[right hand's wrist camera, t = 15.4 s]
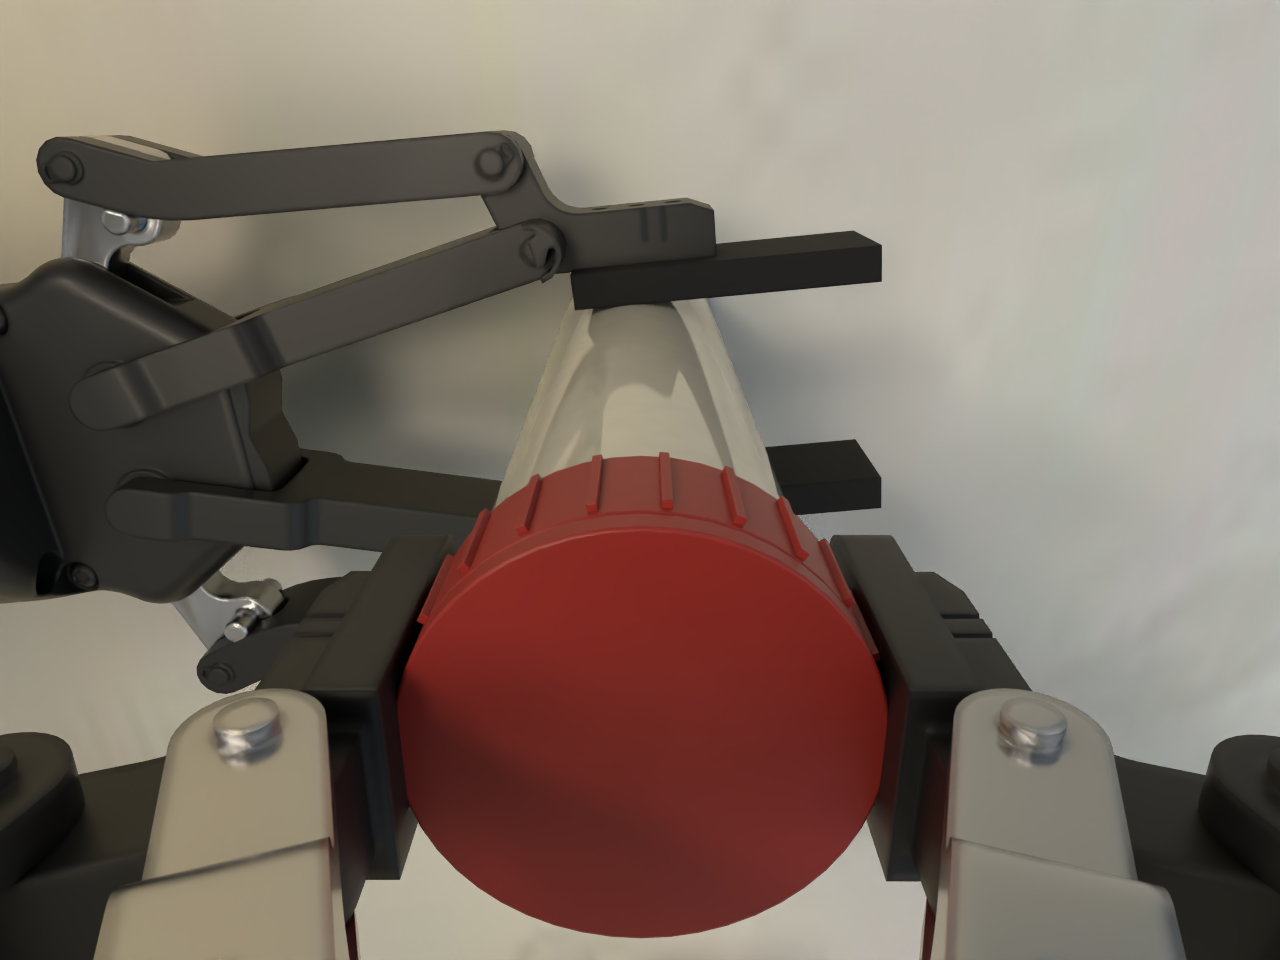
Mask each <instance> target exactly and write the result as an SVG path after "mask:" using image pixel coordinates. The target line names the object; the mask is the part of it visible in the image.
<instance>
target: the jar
mask: <svg viewBox="0 0 1280 960" xmlns="http://www.w3.org/2000/svg"><path fill="white" fill-rule="evenodd" d="M659 452H668V453H669V456H670V458H676V459H682V460H687V461H692V462H697V463H702V464H705V465H708V466H711V467H714V468H717V469H720V470H723V468H724V466H728V467H730V468H733V469H734V473H735V475H736V476H738V477H740V478H742V479H744V480H746V481H748V482H750V483H752V484H754V485H756V486H758V487H759V488H761V489H762V490H764V491H765V492H767V493H768V494H770V495H772V496H773V497H775V498H776V499H779V498H780V497H781V496H783V497H784V495H783V493H782V490H781V487H780V485H779V482H778V480H777V477H776V475H775V472H774V470H773V467H772V464H771V462H770V459H769V457H768V454H767V452H766V449H765V447H764V444H763V441H762V439H761V436H760V434H759V431H758V429H757V426H756V424H755V421H754V418H753V416H752V413H751V411H750V408H749V406H748V403H747V401H746V398H745V395H744V393H743V390H742V388H741V385H740V383H739V380H738V378H737V375H736V372H735V370H734V367H733V365H732V362H731V360H730V357H729V355H728V352H727V349H726V347H725V344H724V342H723V339H722V337H721V334H720V332H719V329H718V326H717V324H716V321H715V319H714V316H713V314H712V311H711V309H710V306H709V303H708V301H707V299H706V298H702V299H692V300H681V301H671V302H660V303H649V304H639V305H627V306H618V307H607V308H596V309H586V310H575V309H574V300H573V296H572V298H571V300H570V302H569V305H568V308H567V310H566V313H565V316H564V318H563V321H562V324H561V326H560V329H559V332H558V334H557V337H556V340H555V342H554V345H553V348H552V350H551V353H550V356H549V358H548V361H547V364H546V366H545V369H544V372H543V374H542V377H541V380H540V382H539V385H538V388H537V390H536V393H535V395H534V398H533V401H532V403H531V406H530V409H529V411H528V414H527V417H526V419H525V422H524V425H523V427H522V430H521V433H520V435H519V438H518V441H517V443H516V446H515V449H514V451H513V454H512V457H511V459H510V462H509V465H508V467H507V470H506V473H505V475H504V478H503V481H502V483H501V486H500V489H499V491H498V494H497V497H496V499H495V502H494V504H493V507H492V510H493V509H494V508H496V507H497V506H498V505H499V504H500V503H501V502H503V501H504V500H505V499H506V498H508V497H509V496H511V495H513V494H514V493H516V492H517V491H519V490H520V489H522V488H524V487H525V486H527V485H528V484H529V481H530V478H531V477H532V476H534V475H536V474H539V475H540V476H541V478H543V477H545V476H547V475H549V474H551V473H554V472H556V471H559V470H562V469H565V468H569V467H572V466H575V465H578V464H581V463H585V462H590V461H592V456H594V455H600V454H602V456H603V459H607V458H612V457H628V456H655V457H659ZM492 510H491V511H492Z"/></svg>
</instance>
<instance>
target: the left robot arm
mask: <svg viewBox="0 0 1280 960" xmlns="http://www.w3.org/2000/svg"><path fill="white" fill-rule="evenodd" d="M36 161H37V168H38V173H39V175H40V176H41V178H42V180H43V182H44V184H45V185H46V186H47V187H49V188H50V189H51V190H52V191H53V192H54V193H56V194H58V195H60V196H62V197H64V212H63V236H62V258H59V259H54V260H51V261H49V262H47V263H45V264H43V265H41V266H39V267H38V268H37V269H35V270H34V271H33V272H32V273H31V274H30V275H29V276H28V277H26V278H25V279H24V280H22V281H20V282H18V283H11V284H1V285H0V604H1V603H13V602H25V601H36V600H46V599H53V598H59V597H64V596H70V595H75V594H80V593H85V592H90V591H97V590H107V591H114V592H119V593H123V594H126V595H130V596H132V597H135V598H138V599H140V600H143V601H147V602H151V603H171V602H172V604H173V605H174V606H175V607H176V609H177V610H178V611H179V613H180V614H181V615H182V617H183V618H184V619H185V620H186V622H187V623H188V624H189V626H190V627H191V628H192V630H193V631H194V632H195V633H196V635H197V636H198V637H199V639H200V640H201V641H202V643H203V644H204V645H205V647H206V648H207V649H208V651H207V652H206V653H205V655H204V656H203V657H202V658H201V660H200V661H199V663H198V665H197V676H198V678H199V679H200V681H201V683H202V684H203V685H204V686H205V687H207V688H208V689H209V690H212V691H214V692H216V693H223V694H228V693H232V692H236V691H238V690H240V689H242V688H244V687H247V686H249V685H251V684H253V683H256V682H258V681H260V680H262V678H263V677H264V675H265V674H266V672H267V671H268V669H269V668H270V666H271V665H272V663H273V662H274V661H275V659H276V658H277V656H278V655H279V653H280V652H281V650H282V649H283V647H284V646H285V644H286V643H287V641H288V640H289V638H290V637H293V636H294V631H295V630H296V628H297V627H298V625H299V624H300V622H301V621H302V619H303V618H306V613H307V612H308V610H309V609H310V607H311V606H312V604H313V603H314V601H315V600H316V598H317V597H318V596H319V594H320V593H321V591H322V590H324V589H325V588H327V587H328V586H330V585H331V584H333V583H334V582H336V581H337V580H339V579H340V578H342V577H334V578H326V579H319V580H312V581H308V582H305V583H301V584H297V585H294V586H292V587H289V588H287V589H284V590H282V587H281V584H280V583H279V582H278V581H277V580H274V579H265V580H263V581H251V582H245V583H242V582H235V581H232V580H230V579H228V578H226V577H225V576H223V575H222V574H221V572H220V571H219V569H220V568H221V567H222V566H223V565H225V564H226V563H227V562H228V561H229V560H230V559H231V558H232V557H233V556H234V555H235V554H236V553H238V552H239V551H240V550H241V549H242V548H243V547H244V546H250V547H259V548H267V549H276V550H289V551H291V550H299V549H302V548H305V547H308V546H311V545H327V546H336V547H344V548H352V549H361V550H369V551H377V552H383V550H384V549H385V547H386V545H387V544H388V542H389V540H390V539H391V537H392V536H393V535H452V536H453V538H454V541H455V545H456V551H458V550H459V548H460V547H461V545H462V544H463V542H464V541H465V539H466V538H467V536H468V535H469V534H470V533H471V532H472V530H473V528H474V526H475V523H476V521H477V519H478V516H479V514H480V513H481V512H482V511H483V510H484V509H485V508H486V509H488V510H489V511H490V512H491V510H492V507H493V504H494V502H495V499H496V497H497V494H498V491H499V489H500V486H501V483H502V481H498V480H490V479H481V478H473V477H465V476H457V475H449V474H441V473H433V472H425V471H417V470H409V469H401V468H393V467H385V466H377V465H369V464H361V463H353V462H348V461H346V460H344V458H343V457H342V456H340V455H338V454H336V453H331V452H324V451H316V450H308V449H299V445H298V441H297V438H296V437H295V435H294V433H293V431H292V429H291V427H290V425H289V424H288V422H287V420H286V418H285V416H284V414H283V412H282V376H281V372H280V369H281V368H283V367H286V366H289V365H291V364H294V363H297V362H300V361H303V360H306V359H309V358H312V357H315V356H318V355H321V354H324V353H326V352H329V351H332V350H335V349H338V348H341V347H344V346H347V345H350V344H353V343H356V342H359V341H362V340H365V339H367V338H370V337H373V336H376V335H379V334H382V333H385V332H388V331H391V330H394V329H397V328H400V327H403V326H406V325H408V324H411V323H414V322H417V321H420V320H423V319H426V318H429V317H432V316H435V315H438V314H441V313H444V312H447V311H449V310H452V309H455V308H458V307H461V306H464V305H467V304H470V303H473V302H476V301H479V300H482V299H485V298H488V297H490V296H493V295H496V294H499V293H502V292H505V291H508V290H511V289H514V288H517V287H520V286H523V285H526V284H529V283H531V282H534V281H537V280H540V279H541V281H542V283H544V282H546V281H547V280H549V279H551V278H552V277H553V276H554V274H559V273H570V272H572V273H571V275H570V276H571V284H572V292H573V300H574V309H575V310H586V309H596V308H607V307H618V306H627V305H639V304H649V303H660V302H671V301H681V300H692V299H702V298H713V297H724V296H734V295H745V294H755V293H766V292H777V291H787V290H798V289H808V288H819V287H830V286H840V285H851V284H861V283H872V282H882V245H880V244H878V243H877V242H875V241H873V240H871V239H869V238H867V237H865V236H863V235H861V234H859V233H857V232H855V231H845V232H835V233H824V234H814V235H804V236H793V237H783V238H772V239H762V240H752V241H741V242H731V243H721V244H716V237H715V221H714V210H713V209H712V208H711V206H710V205H708V204H705V203H702V202H699V201H695V200H692V199H689V198H679V199H669V200H660V201H648V202H638V203H628V204H618V205H608V206H598V207H587V208H575V207H572V206H568V205H566V204H564V203H563V202H561V201H559V200H558V199H557V198H556V197H555V196H554V195H553V194H552V192H551V190H550V189H549V187H548V185H547V183H546V181H545V179H544V177H543V175H542V173H541V171H540V169H539V167H538V165H537V163H536V161H535V159H534V154H533V151H532V147H531V145H530V144H529V143H528V141H527V140H526V139H525V138H524V137H523V136H521V135H520V134H518V133H516V132H513V131H505V130H504V131H489V132H477V133H466V134H455V135H443V136H432V137H420V138H409V139H398V140H386V141H375V142H364V143H352V144H341V145H330V146H318V147H307V148H296V149H284V150H273V151H262V152H250V153H239V154H228V155H216V156H205V157H204V156H200V155H196V154H193V153H189V152H186V151H182V150H178V149H175V148H171V147H168V146H164V145H160V144H157V143H153V142H150V141H146V140H142V139H139V138H135V137H132V136H122V135H113V136H79V137H55V138H52V139H50V140H47V141H45V143H44V144H43V145H42V146H41V147H40V148H39V151H38V155H37V159H36ZM479 195H481V197H482V199H483V201H484V203H485V204H486V206H487V208H488V210H489V212H490V214H491V216H492V218H493V220H494V222H495V224H496V226H495V227H492V228H489V229H486V230H483V231H480V232H477V233H475V234H472V235H469V236H466V237H463V238H460V239H457V240H455V241H452V242H449V243H446V244H443V245H440V246H438V247H435V248H432V249H429V250H426V251H423V252H420V253H418V254H415V255H412V256H409V257H406V258H403V259H400V260H398V261H395V262H392V263H389V264H386V265H383V266H380V267H378V268H375V269H372V270H369V271H366V272H363V273H361V274H358V275H355V276H352V277H349V278H346V279H343V280H341V281H338V282H335V283H332V284H329V285H326V286H323V287H321V288H318V289H315V290H312V291H309V292H306V293H304V294H301V295H297V296H293V297H289V298H286V299H283V300H280V301H278V302H275V303H272V304H269V305H266V306H263V307H260V308H258V309H255V310H252V311H249V312H246V313H243V314H241V315H238V316H235V317H231V316H229V315H227V314H225V313H224V312H222V311H220V310H218V309H216V308H214V307H212V306H211V305H209V304H207V303H205V302H203V301H201V300H199V299H197V298H196V297H194V296H192V295H190V294H188V293H186V292H184V291H183V290H181V289H179V288H177V287H175V286H173V285H171V284H170V283H168V282H166V281H164V280H162V279H160V278H158V277H156V276H155V275H153V274H151V273H149V272H147V271H145V270H143V269H142V268H140V267H138V266H136V265H134V264H132V263H130V262H129V258H130V254H131V252H132V251H133V249H134V248H135V247H136V246H144V245H148V244H152V243H156V242H160V241H164V240H167V239H170V238H171V237H172V236H174V235H175V234H176V233H177V231H178V229H179V227H180V223H181V220H199V219H211V218H223V217H234V216H246V215H258V214H269V213H281V212H292V211H304V210H316V209H327V208H339V207H351V206H362V205H374V204H386V203H397V202H409V201H420V200H432V199H444V198H455V197H467V196H479ZM765 449H766V452H767V454H768V457H769V459H770V462H771V464H772V467H773V470H774V472H775V475H776V477H777V480H778V482H779V485H780V487H781V490H782V493H783V495H784V498H786V499H787V500H788V501H789V503H790V506H791V509H792V511H793V513H794V514H795V515H803V514H815V513H827V512H839V511H850V510H862V509H874V508H881V477H880V475H879V474H878V472H877V471H876V469H875V468H874V466H873V465H872V463H871V462H870V460H869V459H868V457H867V456H866V454H865V453H864V452H863V450H862V449H861V447H860V446H859V444H858V443H857V441H856V440H855V439H854V440H843V441H831V442H820V443H808V444H797V445H786V446H774V447H765Z"/></svg>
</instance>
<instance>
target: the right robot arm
mask: <svg viewBox="0 0 1280 960" xmlns="http://www.w3.org/2000/svg"><path fill="white" fill-rule="evenodd" d="M829 545H830V547H831V550H832V552H833V554H834V556H835V558H836V561H837V563H838V565H839V567H840V570H841V572H842V574H843V576H844V579H845V581H846V583H847V585H848V588H849V589H851V591H852V593H853V595H854V597H855V600H856V602H857V604H858V606H859V608H860V611H861V613H862V615H863V617H864V619H865V622H866V624H867V626H868V628H869V631H870V633H871V635H872V637H873V639H874V642H875V644H876V646H877V648H878V651H879V653H880V661H879V662H876V664H877V667H878V669H879V671H880V675H881V678H882V682H883V686H884V689H885V693H886V696H887V702H888V718H887V729H886V737H885V745H884V754H883V762H882V771H881V779H880V786H879V793H878V795H877V798H876V801H875V804H874V806H873V808H872V810H871V811H870V813H869V815H868V817H867V819H866V820H867V823H868V826H869V829H870V832H871V835H872V838H873V841H874V845H875V848H876V851H877V854H878V857H879V860H880V863H881V866H882V869H883V872H884V875H885V879H886V881H921V883H922V886H923V888H924V891H925V894H926V896H927V899H926V906H925V912H924V919H923V925H922V933H921V945H920V957H919V960H1280V737H1276V736H1267V735H1242V736H1235V737H1232V738H1228V739H1226V740H1224V741H1222V742H1220V743H1219V744H1218V745H1217V746H1216V747H1215V748H1214V750H1213V752H1212V754H1211V758H1210V762H1209V765H1208V769H1207V772H1206V775H1201V774H1196V773H1191V772H1186V771H1181V770H1176V769H1171V768H1166V767H1161V766H1157V765H1152V764H1147V763H1142V762H1138V761H1133V760H1129V759H1125V758H1122V757H1119V756H1116V755H1114V753H1113V748H1112V745H1111V742H1110V739H1109V737H1108V736H1107V734H1106V732H1105V731H1104V730H1103V729H1102V727H1101V726H1100V725H1099V724H1098V723H1097V722H1096V721H1095V720H1093V719H1092V718H1091V717H1090V716H1088V715H1087V714H1085V713H1084V712H1082V711H1081V710H1079V709H1078V708H1076V707H1074V706H1072V705H1070V704H1068V703H1066V702H1064V701H1061V700H1059V699H1056V698H1054V697H1051V696H1047V695H1044V694H1041V693H1036V692H1032V690H1031V689H1030V687H1029V686H1028V684H1027V683H1026V682H1025V680H1024V679H1023V677H1022V676H1021V674H1020V673H1019V671H1018V670H1017V668H1016V667H1015V666H1014V664H1013V663H1012V661H1011V660H1010V658H1009V657H1008V655H1007V654H1006V652H1005V651H1004V650H1003V648H1002V647H1001V645H1000V644H999V642H998V641H997V639H996V638H992V632H991V631H990V629H989V628H988V626H987V625H986V623H985V622H984V620H983V619H979V613H978V612H977V610H976V609H975V607H974V606H973V604H972V603H971V602H970V600H969V599H968V597H967V596H966V594H965V593H964V591H962V590H961V589H959V588H957V587H956V586H954V585H953V584H951V583H950V582H948V581H947V580H945V579H944V578H942V577H941V576H939V575H938V574H936V573H935V572H914V571H913V569H912V567H911V566H910V564H909V562H908V561H907V559H906V557H905V556H904V554H903V552H902V551H901V549H900V547H899V546H898V544H897V543H896V541H895V539H894V538H893V537H892V536H891V535H834V536H833V537H832V538H831V541H830V544H829ZM456 553H457V551H456V545H455V541H454V538H453V536H452V535H393V536H392V537H391V539H390V540H389V542H388V544H387V545H386V547H385V549H384V550H383V552H382V554H381V555H380V557H379V559H378V561H377V562H376V564H375V566H374V567H373V569H372V571H351V572H349V573H348V574H346V575H345V576H343V577H342V578H340V579H339V580H337V581H336V582H334V583H333V584H331V585H330V586H328V587H327V588H325V589H324V590H322V591H321V593H320V594H319V596H318V597H317V598H316V600H315V601H314V603H313V604H312V606H311V607H310V609H309V610H308V612H307V613H306V618H303V619H302V621H301V622H300V624H299V625H298V627H297V628H296V630H295V631H294V636H293V637H290V638H289V640H288V641H287V643H286V644H285V646H284V647H283V649H282V650H281V652H280V653H279V655H278V656H277V658H276V659H275V661H274V662H273V663H272V665H271V666H270V668H269V669H268V671H267V672H266V674H265V675H264V677H263V678H262V680H261V681H260V683H259V684H258V686H257V687H256V689H255V690H253V691H248V692H244V693H239V694H236V695H233V696H229V697H226V698H224V699H221V700H219V701H216V702H214V703H212V704H210V705H208V706H206V707H204V708H202V709H201V710H199V711H198V712H196V713H195V714H193V715H192V716H190V717H189V718H188V719H187V720H185V721H184V722H183V723H182V724H181V725H180V726H179V727H178V729H177V730H176V731H175V732H174V734H173V736H172V737H171V739H170V742H169V745H168V748H167V753H166V756H164V757H160V758H156V759H152V760H148V761H144V762H139V763H134V764H129V765H124V766H119V767H114V768H109V769H104V770H99V771H94V772H89V773H84V774H79V775H78V772H77V768H76V765H75V761H74V758H73V754H72V751H71V749H70V746H69V745H68V744H67V743H66V742H65V741H64V740H63V739H61V738H59V737H57V736H54V735H50V734H46V733H37V732H21V733H12V734H5V735H0V960H361V957H360V945H359V933H358V926H357V919H356V912H355V908H356V905H357V903H358V900H359V897H360V894H361V892H362V889H363V886H364V883H365V880H400V878H401V875H402V871H403V868H404V865H405V862H406V859H407V856H408V852H409V849H410V846H411V843H412V840H413V837H414V833H415V830H416V827H417V824H418V821H417V819H416V817H415V815H414V813H413V812H412V810H411V808H410V806H409V804H408V797H407V790H406V782H405V773H404V764H403V756H402V747H401V739H400V730H399V721H398V712H397V692H398V689H399V685H400V682H401V678H402V675H403V671H404V669H405V666H406V664H407V662H408V659H409V657H410V655H411V653H412V650H413V648H414V646H415V643H416V641H417V639H418V636H419V634H420V632H421V629H422V627H423V624H421V623H419V622H417V619H418V617H419V615H420V613H421V610H422V608H423V606H424V604H425V601H426V599H427V597H428V595H429V592H430V590H431V588H432V586H433V584H434V581H435V579H436V577H437V575H438V572H439V570H440V568H441V566H442V563H443V561H444V559H445V557H446V556H447V554H450V555H452V556H455V554H456Z"/></svg>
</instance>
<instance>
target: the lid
mask: <svg viewBox="0 0 1280 960" xmlns="http://www.w3.org/2000/svg"><path fill="white" fill-rule="evenodd" d="M417 622H419V623H421V624H423V627H422V629H421V632H420V634H419V636H418V639H417V641H416V643H415V646H414V648H413V650H412V653H411V655H410V657H409V659H408V662H407V664H406V666H405V669H404V671H403V675H402V678H401V682H400V685H399V689H398V692H397V712H398V721H399V730H400V739H401V747H402V756H403V764H404V773H405V782H406V790H407V797H408V804H409V806H410V808H411V810H412V812H413V813H414V815H415V817H416V819H417V821H418V823H419V825H420V826H421V828H422V830H423V831H424V832H425V834H426V835H427V836H428V838H429V839H430V841H431V842H432V843H433V845H434V846H435V847H436V849H437V850H438V851H439V852H440V853H441V854H442V855H443V856H444V857H445V858H446V859H447V861H448V862H449V863H450V864H451V865H452V866H453V867H454V868H455V869H456V870H457V871H458V872H460V873H461V874H462V875H463V876H465V877H466V878H467V879H468V880H469V881H471V882H472V883H473V884H474V885H476V886H477V887H478V888H480V889H481V890H483V891H484V892H486V893H487V894H489V895H491V896H492V897H494V898H495V899H497V900H498V901H500V902H502V903H504V904H506V905H508V906H510V907H512V908H514V909H516V910H518V911H520V912H522V913H524V914H526V915H528V916H531V917H534V918H536V919H539V920H542V921H544V922H547V923H550V924H553V925H556V926H560V927H564V928H568V929H572V930H576V931H579V932H584V933H591V934H597V935H604V936H611V937H629V938H654V937H672V936H679V935H686V934H692V933H699V932H703V931H707V930H711V929H715V928H719V927H723V926H727V925H730V924H733V923H736V922H738V921H741V920H744V919H747V918H749V917H752V916H755V915H757V914H759V913H761V912H763V911H765V910H767V909H769V908H771V907H773V906H775V905H777V904H779V903H781V902H783V901H784V900H786V899H787V898H789V897H791V896H792V895H794V894H795V893H797V892H799V891H800V890H802V889H803V888H805V887H806V886H807V885H808V884H810V883H811V882H812V881H813V880H815V879H816V878H817V877H818V876H820V875H821V874H822V873H823V872H824V871H826V870H827V869H828V868H829V867H830V866H831V865H832V863H833V862H834V861H835V860H836V859H837V858H838V857H839V856H840V855H841V854H842V853H843V852H844V851H845V850H846V848H847V847H848V846H849V844H850V843H851V842H852V840H853V839H854V838H855V836H856V835H857V834H858V832H859V831H860V829H861V828H862V826H863V824H864V822H865V821H866V819H867V817H868V815H869V813H870V811H871V810H872V808H873V806H874V804H875V801H876V798H877V795H878V793H879V786H880V779H881V771H882V762H883V754H884V745H885V737H886V729H887V718H888V702H887V696H886V693H885V689H884V686H883V682H882V678H881V675H880V671H879V669H878V667H877V664H876V662H879V661H880V653H879V651H878V648H877V646H876V644H875V642H874V639H873V637H872V635H871V633H870V631H869V628H868V626H867V624H866V622H865V619H864V617H863V615H862V613H861V611H860V608H859V606H858V604H857V602H856V600H855V597H854V595H853V593H852V591H851V589H849V588H848V585H847V583H846V581H845V579H844V576H843V574H842V572H841V570H840V567H839V565H838V563H837V561H836V558H835V556H834V554H833V552H832V550H831V547H830V545H829V543H828V542H827V541H826V539H825V538H824V539H822V540H821V541H818V540H817V538H816V537H815V535H814V534H813V533H812V532H811V531H810V530H809V529H808V528H807V526H806V525H805V524H804V523H803V522H802V521H801V520H800V518H799V517H798V516H796V515H795V514H794V513H793V511H792V509H791V506H790V503H789V501H788V500H787V499H786V498H784V497H783V496H781V497H780V498H779V499H776V498H775V497H773V496H772V495H770V494H768V493H767V492H765V491H764V490H762V489H761V488H759V487H758V486H756V485H754V484H752V483H750V482H748V481H746V480H744V479H742V478H740V477H738V476H736V475H735V473H734V469H733V468H730V467H728V466H724V468H723V470H720V469H717V468H714V467H711V466H708V465H705V464H702V463H697V462H692V461H687V460H682V459H676V458H670V456H669V453H668V452H659V457H655V456H628V457H612V458H607V459H603V456H602V454H600V455H594V456H592V461H590V462H585V463H581V464H578V465H575V466H572V467H569V468H565V469H562V470H559V471H556V472H554V473H551V474H549V475H547V476H545V477H543V478H541V476H540V475H539V474H536V475H534V476H532V477H531V478H530V481H529V484H528V485H527V486H525V487H524V488H522V489H520V490H519V491H517V492H516V493H514V494H513V495H511V496H509V497H508V498H506V499H505V500H504V501H503V502H501V503H500V504H499V505H498V506H497V507H496V508H494V509H493V510H492V511H491V512H490V511H489V510H488V509H486V508H485V509H484V510H483V511H482V512H481V513H480V514H479V516H478V519H477V521H476V523H475V526H474V528H473V530H472V532H471V533H470V534H469V535H468V536H467V538H466V539H465V541H464V542H463V544H462V545H461V547H460V548H459V550H458V551H457V553H456V554H455V556H452V555H450V554H447V556H446V557H445V559H444V561H443V563H442V566H441V568H440V570H439V572H438V575H437V577H436V579H435V581H434V584H433V586H432V588H431V590H430V592H429V595H428V597H427V599H426V601H425V604H424V606H423V608H422V610H421V613H420V615H419V617H418V619H417Z"/></svg>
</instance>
